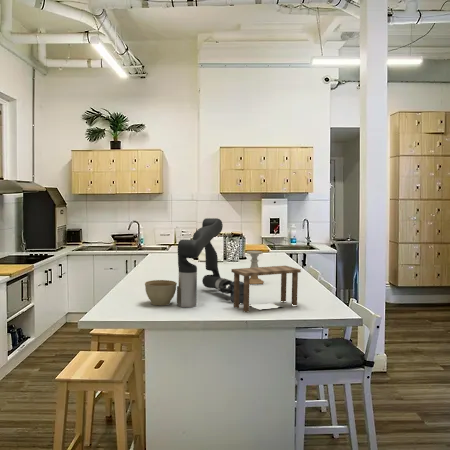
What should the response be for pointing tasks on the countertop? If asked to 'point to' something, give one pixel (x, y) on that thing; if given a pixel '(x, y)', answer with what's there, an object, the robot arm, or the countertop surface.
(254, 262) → the candle holder
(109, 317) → the countertop surface
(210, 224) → the robot arm
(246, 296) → the low shelf
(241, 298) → the box
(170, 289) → the planter bowl
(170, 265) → the countertop surface
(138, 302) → the countertop surface
